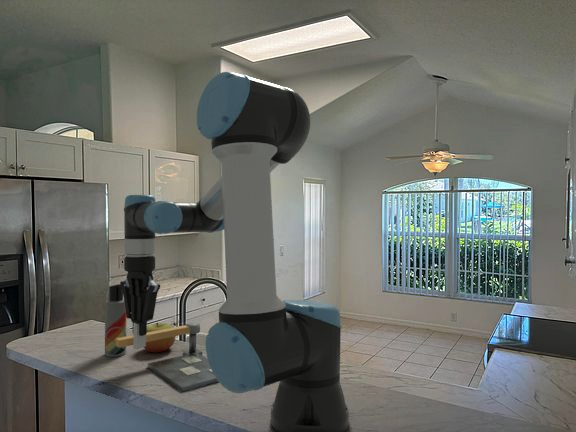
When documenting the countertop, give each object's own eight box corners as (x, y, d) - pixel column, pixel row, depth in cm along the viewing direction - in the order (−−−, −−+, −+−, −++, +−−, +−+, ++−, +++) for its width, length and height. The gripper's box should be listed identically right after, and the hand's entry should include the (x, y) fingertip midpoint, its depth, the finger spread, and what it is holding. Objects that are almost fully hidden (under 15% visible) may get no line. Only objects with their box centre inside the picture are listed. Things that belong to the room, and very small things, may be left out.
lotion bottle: (118, 358, 117) (119, 286, 117) (100, 356, 118) (101, 285, 118) (130, 351, 122) (130, 283, 122) (112, 350, 123) (113, 282, 123)
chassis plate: (234, 377, 103) (234, 372, 103) (182, 391, 94) (182, 386, 94) (195, 356, 119) (196, 351, 119) (147, 367, 110) (147, 362, 110)
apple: (153, 343, 130) (153, 317, 130) (181, 346, 127) (181, 320, 127) (133, 353, 121) (133, 325, 121) (163, 356, 118) (163, 328, 118)
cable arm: (195, 329, 123) (195, 321, 123) (202, 332, 120) (202, 324, 120) (114, 345, 107) (114, 336, 107) (120, 349, 104) (120, 340, 104)
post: (202, 354, 120) (202, 333, 120) (189, 357, 117) (189, 335, 117) (195, 351, 123) (195, 330, 123) (183, 353, 120) (183, 332, 120)
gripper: (168, 255, 107) (168, 347, 107) (135, 253, 114) (135, 340, 114) (144, 257, 101) (144, 356, 101) (111, 255, 108) (110, 347, 107)
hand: (139, 347), depth 107 cm, fingers closed
